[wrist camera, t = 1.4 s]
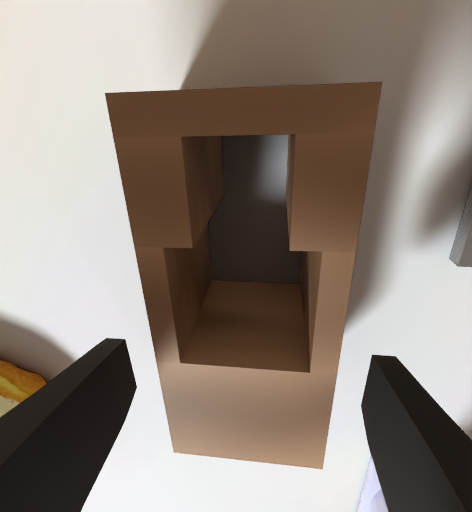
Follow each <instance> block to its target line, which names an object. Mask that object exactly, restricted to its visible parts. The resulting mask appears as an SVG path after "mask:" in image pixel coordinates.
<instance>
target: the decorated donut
mask: <svg viewBox="0 0 472 512" xmlns="http://www.w3.org/2000/svg"><path fill="white" fill-rule="evenodd" d="M45 384H47V383H46V381H45V380H44V379H43V378H42V376H40V375H39V374H37V373H33V372H28V371H25V370H22V369H18V368H17V367H16V366H15V365H14V364H12V363H9V362H6V361H0V417H1V416H2V415H4V414H5V413H7V412H8V411H9V410H11V409H12V408H14V407H15V406H17V405H18V404H19V403H21V402H22V401H24V400H25V399H26V398H28V397H29V396H31V395H32V394H33V393H35V392H36V391H37V390H39V389H40V388H41V387H43V386H44V385H45Z"/></svg>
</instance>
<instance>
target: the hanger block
mask: <svg viewBox="0 0 472 512" xmlns="http://www.w3.org/2000/svg"><path fill="white" fill-rule="evenodd" d="M381 86H382V82H366V83H341V84H316V85H292V86H267V87H243V88H218V89H194V90H169V91H145V92H120V93H105V96H106V101H107V106H108V112H109V117H110V122H111V127H112V133H113V138H114V143H115V148H116V153H117V159H118V164H119V169H120V174H121V179H122V185H123V190H124V195H125V200H126V206H127V211H128V216H129V221H130V226H131V232H132V237H133V242H134V247H135V252H136V258H137V263H138V268H139V273H140V279H141V284H142V289H143V294H144V299H145V305H146V310H147V315H148V320H149V326H150V331H151V336H152V341H153V346H154V352H155V357H156V362H157V367H158V372H159V378H160V383H161V388H162V393H163V399H164V404H165V409H166V414H167V419H168V425H169V430H170V435H171V440H172V445H173V451H174V452H175V453H184V454H193V455H201V456H210V457H219V458H228V459H237V460H246V461H255V462H264V463H273V464H282V465H290V466H299V467H308V468H317V469H323V462H324V456H325V449H326V443H327V436H328V430H329V423H330V417H331V410H332V404H333V397H334V391H335V384H336V378H337V372H338V365H339V359H340V352H341V346H342V339H343V333H344V326H345V320H346V313H347V307H348V300H349V294H350V287H351V281H352V274H353V268H354V261H355V255H356V248H357V242H358V235H359V229H360V222H361V216H362V209H363V203H364V196H365V190H366V183H367V177H368V170H369V164H370V157H371V151H372V144H373V138H374V131H375V125H376V119H377V112H378V106H379V99H380V93H381ZM281 134H289V137H288V162H287V186H286V201H287V217H288V232H289V248H290V251H302V265H301V279H300V284H293V283H267V282H241V281H216V280H212V276H211V262H210V249H209V236H208V222H209V220H210V218H211V217H212V215H213V213H214V212H215V210H216V208H217V207H218V205H219V203H220V202H221V200H222V198H223V197H224V176H223V155H222V136H234V135H281Z"/></svg>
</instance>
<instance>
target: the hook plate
mask: <svg viewBox="0 0 472 512" xmlns="http://www.w3.org/2000/svg"><path fill="white" fill-rule="evenodd" d="M449 259H450V260H451V261H452V262H453V263H455V264H456V265H457V266H461V267H472V185H471V189H470V192H469V195H468V198H467V202H466V205H465V208H464V212H463V215H462V218H461V222H460V225H459V228H458V231H457V235H456V238H455V241H454V245H453V248H452V251H451V254H450V258H449Z"/></svg>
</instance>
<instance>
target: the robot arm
mask: <svg viewBox="0 0 472 512" xmlns="http://www.w3.org/2000/svg"><path fill="white" fill-rule="evenodd" d="M136 388H137V386H136V382H135V378H134V373H133V369H132V365H131V361H130V357H129V353H128V349H127V345H126V341H125V339H112V338H106V339H105V340H103V341H102V342H100V343H99V344H98V345H96V346H95V347H94V348H92V349H91V350H90V351H88V352H87V353H86V354H85V355H83V356H82V357H81V358H79V359H78V360H77V361H76V362H74V363H73V364H72V365H70V366H69V367H68V368H66V369H65V370H64V371H63V372H61V373H60V374H59V375H57V376H56V377H55V378H53V379H52V380H51V381H49V382H48V383H47V384H45V385H44V386H43V387H41V388H40V389H39V390H37V391H36V392H35V393H33V394H32V395H31V396H29V397H28V398H26V399H25V400H24V401H22V402H21V403H19V404H18V405H17V406H15V407H14V408H12V409H11V410H9V411H8V412H7V413H5V414H4V415H2V416H1V417H0V512H81V510H82V507H83V505H84V503H85V501H86V499H87V497H88V495H89V493H90V491H91V489H92V487H93V485H94V483H95V481H96V479H97V477H98V475H99V473H100V471H101V469H102V467H103V465H104V463H105V461H106V459H107V457H108V455H109V453H110V451H111V449H112V447H113V444H114V442H115V440H116V438H117V436H118V434H119V432H120V430H121V428H122V426H123V424H124V422H125V419H126V416H127V414H128V411H129V408H130V406H131V403H132V400H133V397H134V394H135V391H136ZM361 407H362V413H363V419H364V425H365V430H366V435H367V440H368V445H369V448H370V452H371V455H372V457H371V459H370V463H369V467H368V471H367V474H366V478H365V482H364V486H363V490H362V493H361V497H360V501H359V505H358V509H357V512H472V440H471V439H470V438H469V437H468V436H467V435H466V433H465V432H464V431H463V430H462V429H461V428H460V427H459V426H458V425H457V424H456V423H455V422H454V421H453V420H452V419H451V418H450V417H449V415H448V414H447V413H446V412H445V411H444V410H443V409H442V408H441V407H440V406H439V405H438V403H437V402H436V401H435V400H434V399H433V398H432V397H431V396H430V395H429V393H428V392H427V391H426V390H425V389H424V388H423V387H422V386H421V384H420V383H419V382H418V381H417V380H416V379H415V378H414V377H413V375H412V374H411V373H410V372H409V371H408V370H407V369H406V367H405V366H404V365H403V364H402V363H401V362H400V361H399V360H398V359H397V357H396V356H382V355H372V358H371V363H370V367H369V372H368V376H367V381H366V386H365V390H364V395H363V399H362V404H361Z"/></svg>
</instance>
